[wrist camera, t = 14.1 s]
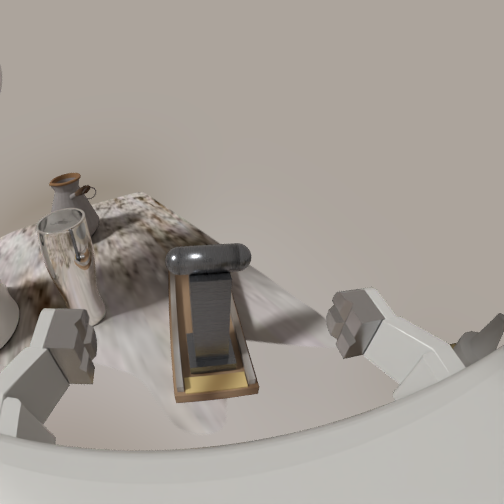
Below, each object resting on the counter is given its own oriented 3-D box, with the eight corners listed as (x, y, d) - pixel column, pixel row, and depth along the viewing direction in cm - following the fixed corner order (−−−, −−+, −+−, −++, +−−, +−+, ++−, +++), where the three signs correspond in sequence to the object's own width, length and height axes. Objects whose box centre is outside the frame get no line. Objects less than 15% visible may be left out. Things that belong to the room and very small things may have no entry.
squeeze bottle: (445, 422, 26) (537, 317, 16) (415, 470, 21) (532, 373, 12) (401, 389, 31) (474, 274, 21) (365, 431, 26) (453, 317, 17)
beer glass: (84, 292, 41) (61, 204, 33) (118, 304, 40) (97, 210, 32) (57, 320, 35) (24, 229, 27) (91, 337, 34) (58, 239, 26)
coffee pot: (46, 235, 54) (32, 170, 46) (90, 218, 61) (81, 155, 53) (76, 283, 43) (54, 199, 34) (132, 257, 50) (122, 176, 42)
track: (176, 402, 28) (173, 391, 27) (169, 271, 48) (167, 258, 47) (257, 393, 31) (260, 382, 29) (223, 267, 50) (223, 254, 49)
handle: (179, 375, 30) (163, 267, 22) (174, 301, 39) (166, 202, 32) (246, 368, 31) (259, 261, 24) (228, 297, 41) (232, 200, 33)
